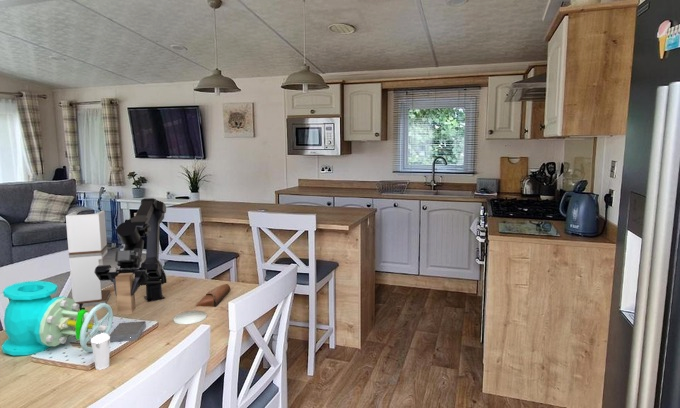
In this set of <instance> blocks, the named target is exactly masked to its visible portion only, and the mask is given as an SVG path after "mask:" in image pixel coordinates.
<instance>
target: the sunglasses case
mask: <svg viewBox="0 0 680 408" xmlns="http://www.w3.org/2000/svg"><path fill="white" fill-rule="evenodd" d="M230 291H231V287H230V284H228V283H224V284H221V285H217V287H215V288H213V289H211V290H209V291H208V292H207V293H205V295H204V296H203V297H202V298H201V299H200V300H199V301H198V302H197V303H196V305H195V307H203V308H204V307H208V308H210V307H212V308H213V307H215V308H216V307H217V306H218V305H219V304H220V302H221V301H222V300H223V299H224V298H225V296H226V295H227V294H228V293H230Z"/></svg>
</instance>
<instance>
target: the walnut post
mask: <svg viewBox="0 0 680 408" xmlns="http://www.w3.org/2000/svg"><path fill="white" fill-rule="evenodd" d="M115 279H116V294H117V296H116V303H117V307H116V308H117V315H129V314H133V313H134V312H135V310H136V297H135V294H136V293H134V295H133V296H131V289H132V285H133V281H134V274H133V273H121V274H119V275H117V276H116V277H115ZM116 294H115V295H116Z"/></svg>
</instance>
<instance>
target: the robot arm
mask: <svg viewBox="0 0 680 408" xmlns="http://www.w3.org/2000/svg"><path fill="white" fill-rule="evenodd" d="M166 213H167V206H166V204H165V203H164V202H163V201H160V200H157V199H156V198H153V197H151V198H150V197H149V198H145V197H144V198H142V199H141V200H140V206H139V207H138V209H137V211H136V214H135V215H134V216H133V217H130V218H129V219H125V220H124V222H121V223H120V224H119V225H118V226H117V227H116V234H117V235H118V237H119V240H120V241H121V243H122V245H124V247H123V250H116V251H115V256H114V257H115V258H114V259H115V260H114V262H116V263H117V264H116V265H117V266H118V267H119V268H118V267H112V266H111V264H103V265H98V266H97V267H96V268H95V272H94V273H95V274H96V276H97V277H98V278H99V280H101V281H102V282H104V281H110V282H111V283H112V284H113V287H114V289H113V290H114V293H115V297H117V294H116V279H115V277H116V276H117V275H119V274H121V273H133V275H134V277H133V279H134V281H133V285H132V289H131V296H133V295H134V294H136V292H137V291H138V290H139V288H140V287H141V286H145V292H146V293H145V295H144V296H143V298H144V300H146V302H148V303H149V302H154V301H158V300H160V301H161V300H164V299H166V297H165V295H163V290H162V289H163V287H162V285H165V284H167V282H168V281H167V275H166V273H165V271H164V269H163V268H164V267H163V264H162V262H161V261H160V259H159V254H160V253H159V252H160V230H161V229H160V228H161V227H160V226H161V225H160V224H161V223H162V222H163V220H164V219H165V215H166ZM143 238H146V252H145V254H146V255H145V260H144V261H143V259H142V254H143V249H144V244H145V240H144V239H143ZM142 261H143V262H142Z"/></svg>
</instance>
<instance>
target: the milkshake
mask: <svg viewBox="0 0 680 408" xmlns="http://www.w3.org/2000/svg"><path fill="white" fill-rule="evenodd" d="M89 333H90V331H89V332H88V335H89V336H90V334H89ZM109 335H110V334H109ZM109 335H108V334H106V333H105V332H101V334H98V335H97V334H96V335H93V336H92V337H91V336H90V344H91V345H90V346H91V347H92V350H93V352H92V354H93V361H94V366H95V370H97V371H99V370H100V371H101V370H105V369H107V368H109V367H110V348H111V342H110V336H109Z"/></svg>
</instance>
